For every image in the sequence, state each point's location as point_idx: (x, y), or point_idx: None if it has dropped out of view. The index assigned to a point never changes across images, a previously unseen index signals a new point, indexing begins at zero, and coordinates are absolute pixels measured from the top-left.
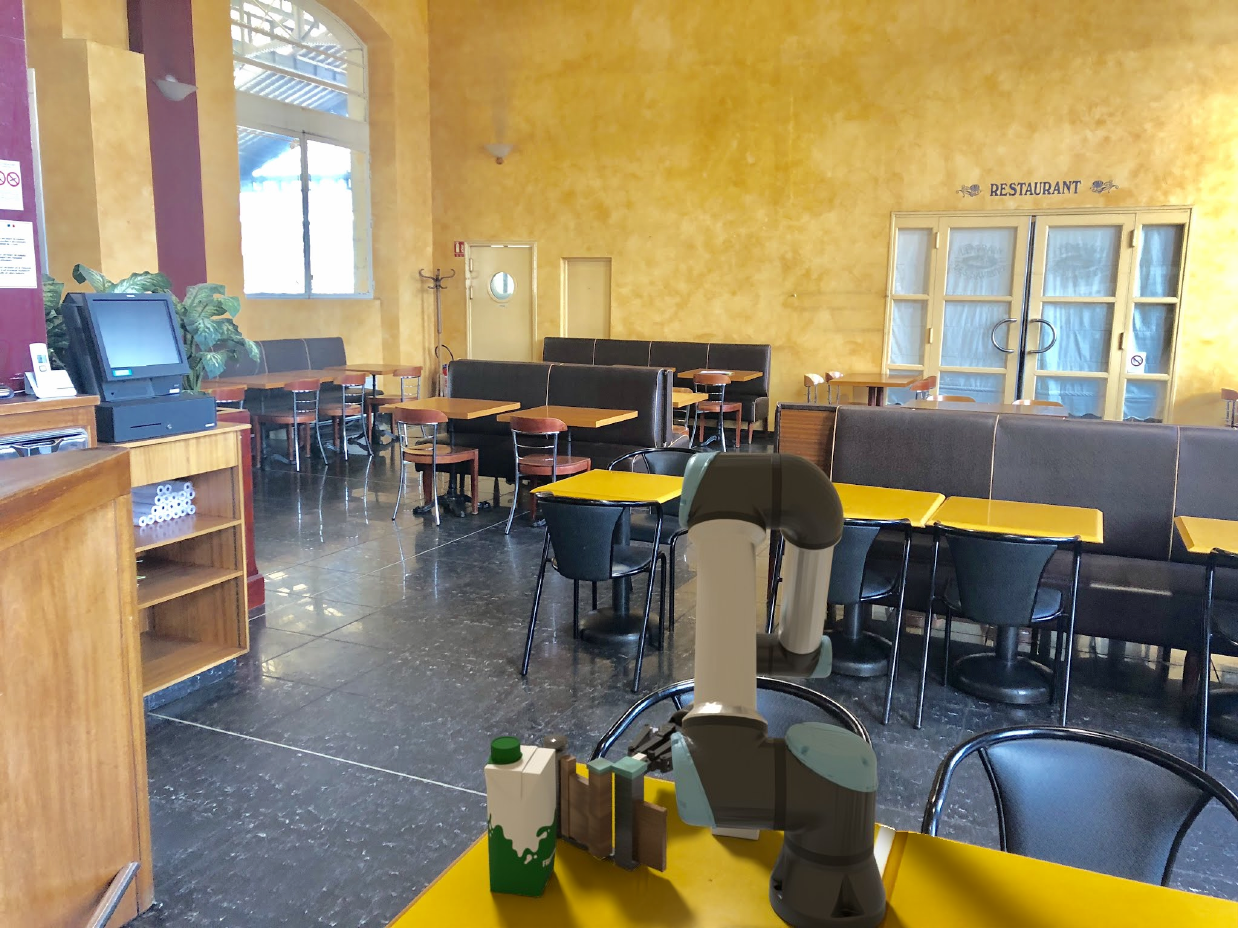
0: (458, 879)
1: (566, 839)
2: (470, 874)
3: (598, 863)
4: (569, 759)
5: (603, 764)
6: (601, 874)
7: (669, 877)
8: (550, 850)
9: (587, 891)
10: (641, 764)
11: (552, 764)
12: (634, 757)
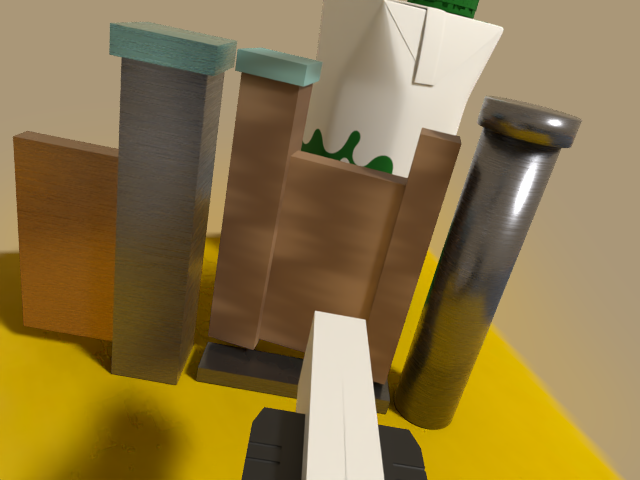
0: (429, 265)
1: None
2: (427, 274)
3: None
4: (426, 130)
5: (268, 53)
6: (207, 314)
7: (13, 341)
8: None
9: (209, 276)
10: (131, 25)
11: (354, 21)
12: (362, 448)
